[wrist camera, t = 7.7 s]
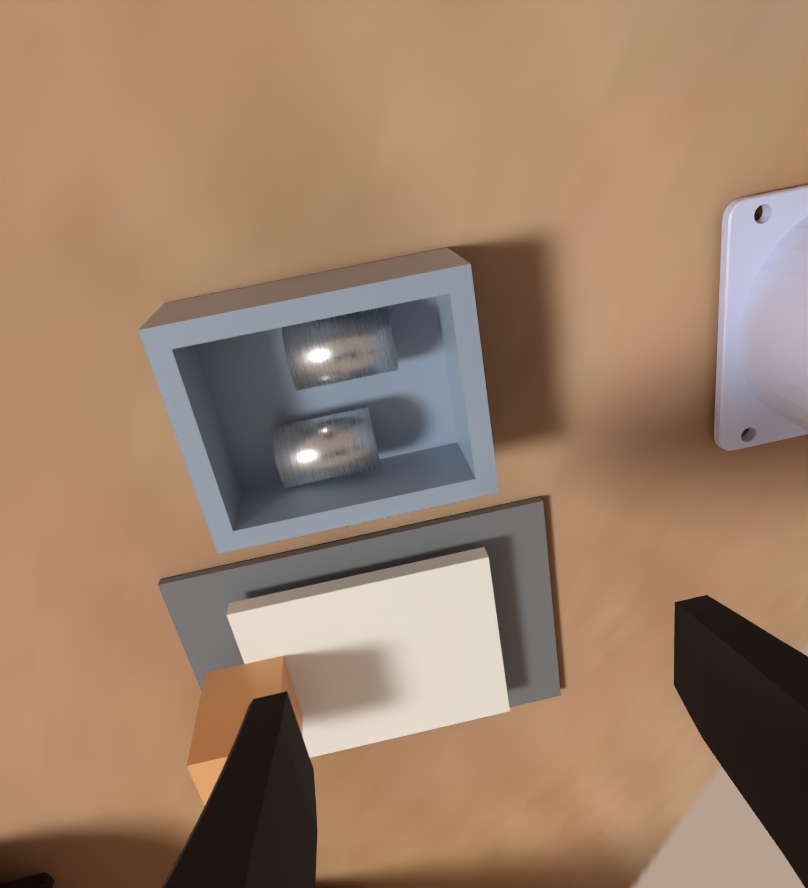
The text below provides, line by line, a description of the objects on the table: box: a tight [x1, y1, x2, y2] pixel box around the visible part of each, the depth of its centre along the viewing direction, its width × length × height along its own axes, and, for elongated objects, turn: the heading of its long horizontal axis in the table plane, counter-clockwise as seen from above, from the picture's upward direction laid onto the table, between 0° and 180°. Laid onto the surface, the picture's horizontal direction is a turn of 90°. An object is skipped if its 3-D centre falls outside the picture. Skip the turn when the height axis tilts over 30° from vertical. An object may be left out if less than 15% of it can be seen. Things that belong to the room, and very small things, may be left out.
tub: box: [138, 247, 499, 554], centre depth 18 cm, size 8×6×3 cm
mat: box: [158, 497, 561, 707], centre depth 23 cm, size 13×9×1 cm
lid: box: [187, 547, 510, 805], centre depth 21 cm, size 10×7×5 cm
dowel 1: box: [282, 306, 398, 391], centre depth 18 cm, size 3×2×2 cm, turn 100°
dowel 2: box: [271, 407, 381, 488], centre depth 19 cm, size 3×2×2 cm, turn 100°
